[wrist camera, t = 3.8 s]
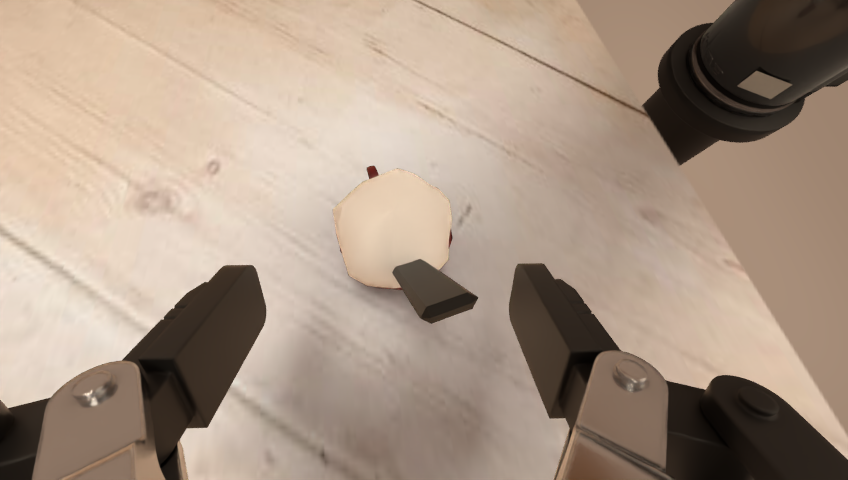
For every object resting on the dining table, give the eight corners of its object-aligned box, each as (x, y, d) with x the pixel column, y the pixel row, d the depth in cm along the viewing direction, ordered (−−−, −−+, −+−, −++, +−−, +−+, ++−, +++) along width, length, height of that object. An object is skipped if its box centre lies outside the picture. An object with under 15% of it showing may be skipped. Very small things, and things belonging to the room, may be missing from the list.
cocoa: (356, 187, 23) (302, 31, 11) (446, 192, 23) (484, 43, 11) (340, 329, 20) (248, 315, 8) (444, 333, 20) (491, 325, 9)
